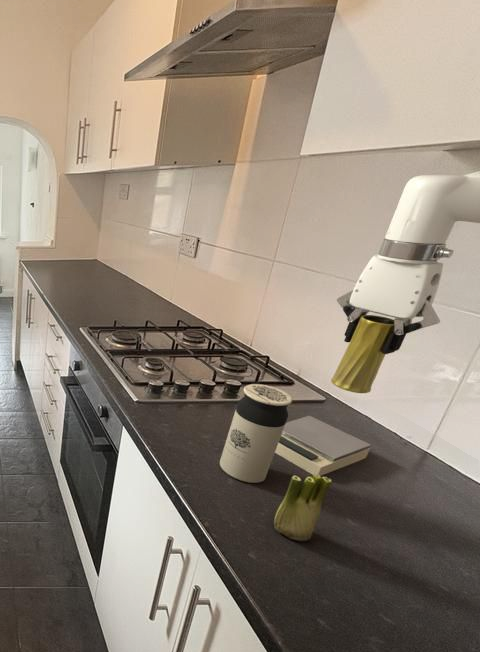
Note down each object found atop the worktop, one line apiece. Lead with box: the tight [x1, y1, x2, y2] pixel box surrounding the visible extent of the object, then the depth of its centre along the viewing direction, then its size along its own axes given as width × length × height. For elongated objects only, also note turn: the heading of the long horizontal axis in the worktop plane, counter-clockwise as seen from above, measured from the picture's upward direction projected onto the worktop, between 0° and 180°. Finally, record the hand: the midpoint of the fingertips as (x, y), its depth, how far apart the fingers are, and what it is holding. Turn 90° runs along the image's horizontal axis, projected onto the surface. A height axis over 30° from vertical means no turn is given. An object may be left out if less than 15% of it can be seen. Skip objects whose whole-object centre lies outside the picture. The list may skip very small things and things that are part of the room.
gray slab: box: [282, 415, 371, 462], centre depth 89 cm, size 12×12×1 cm
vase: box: [330, 314, 394, 394], centre depth 80 cm, size 6×6×14 cm
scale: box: [274, 434, 371, 477], centre depth 89 cm, size 16×12×3 cm
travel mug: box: [219, 383, 293, 484], centre depth 80 cm, size 8×8×18 cm
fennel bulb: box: [273, 474, 333, 542], centre depth 67 cm, size 6×5×12 cm
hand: (368, 345), depth 80 cm, fingers closed on vase, 5 cm apart
